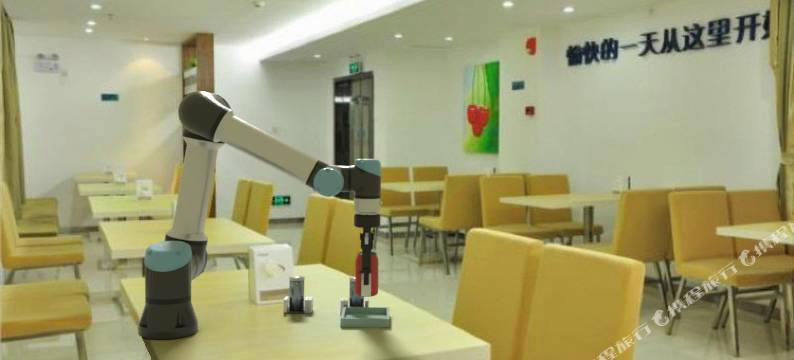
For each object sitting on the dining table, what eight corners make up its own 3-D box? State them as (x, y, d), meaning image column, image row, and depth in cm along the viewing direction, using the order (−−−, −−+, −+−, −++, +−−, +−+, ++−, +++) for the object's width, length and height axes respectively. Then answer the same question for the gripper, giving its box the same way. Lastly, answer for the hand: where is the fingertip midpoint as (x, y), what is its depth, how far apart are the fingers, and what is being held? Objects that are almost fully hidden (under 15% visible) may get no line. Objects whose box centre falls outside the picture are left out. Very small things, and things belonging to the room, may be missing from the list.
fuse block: (368, 314, 209) (368, 279, 208) (283, 313, 209) (283, 278, 208) (368, 310, 214) (369, 276, 214) (285, 309, 214) (286, 275, 213)
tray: (389, 327, 195) (389, 319, 195) (340, 326, 195) (340, 318, 195) (389, 315, 209) (389, 307, 208) (343, 314, 208) (343, 306, 208)
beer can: (375, 297, 197) (375, 255, 197) (352, 296, 199) (352, 254, 198) (380, 292, 204) (380, 251, 203) (358, 291, 205) (358, 250, 204)
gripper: (380, 217, 190) (379, 301, 192) (380, 209, 210) (379, 286, 211) (352, 216, 190) (351, 300, 191) (355, 209, 210) (354, 285, 211)
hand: (366, 292), depth 201 cm, fingers closed on beer can, 7 cm apart
